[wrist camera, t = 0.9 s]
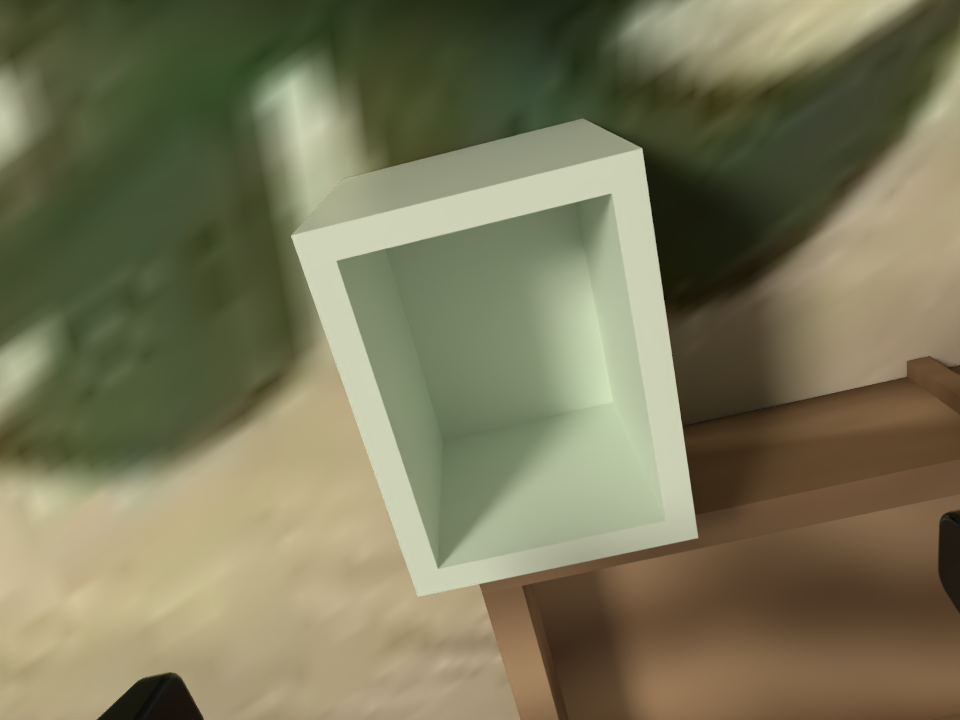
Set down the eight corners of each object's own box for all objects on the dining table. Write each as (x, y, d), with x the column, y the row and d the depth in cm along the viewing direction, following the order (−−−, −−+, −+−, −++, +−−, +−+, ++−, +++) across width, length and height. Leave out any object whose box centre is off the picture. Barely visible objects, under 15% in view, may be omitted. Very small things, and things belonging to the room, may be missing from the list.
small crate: (633, 406, 20) (698, 537, 15) (428, 452, 21) (417, 596, 15) (583, 118, 17) (642, 148, 12) (343, 178, 18) (290, 235, 12)
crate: (1058, 692, 25) (1161, 801, 21) (560, 786, 26) (577, 904, 23) (1102, 317, 20) (1251, 378, 16) (466, 459, 21) (468, 546, 17)
